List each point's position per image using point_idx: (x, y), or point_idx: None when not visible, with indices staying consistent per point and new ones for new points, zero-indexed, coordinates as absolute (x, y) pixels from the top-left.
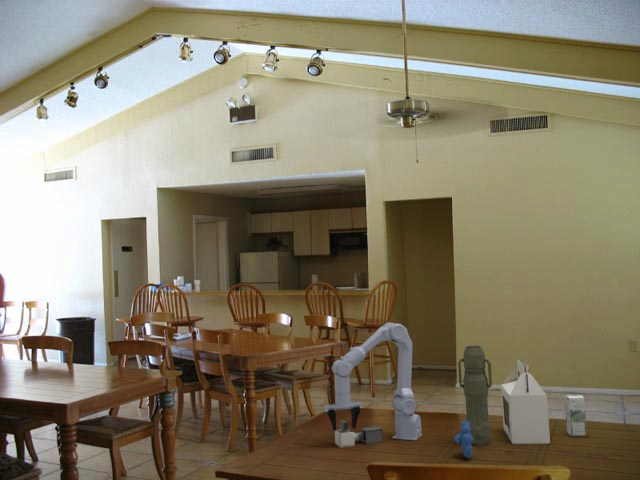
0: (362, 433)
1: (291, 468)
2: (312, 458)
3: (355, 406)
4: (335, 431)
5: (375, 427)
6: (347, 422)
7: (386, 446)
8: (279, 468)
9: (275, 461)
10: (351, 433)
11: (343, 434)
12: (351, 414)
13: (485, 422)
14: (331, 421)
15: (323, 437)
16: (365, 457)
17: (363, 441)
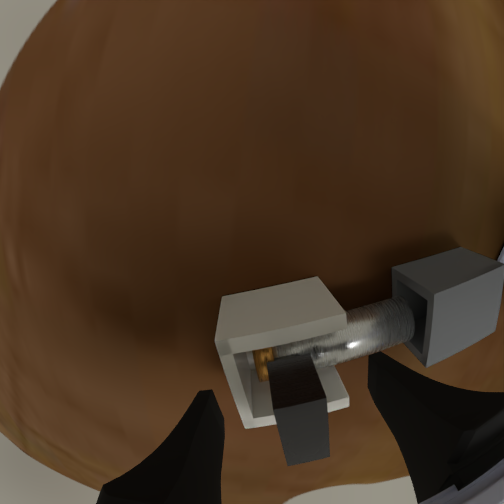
0: (406, 339)
1: (101, 478)
2: (133, 450)
3: (475, 490)
4: (221, 357)
5: (489, 295)
6: (325, 457)
7: (437, 370)
8: (74, 466)
9: (39, 425)
10: (329, 406)
11: (272, 419)
12: (425, 409)
13: None
14: (177, 439)
15: (157, 117)
16: (317, 469)
17: (392, 284)
